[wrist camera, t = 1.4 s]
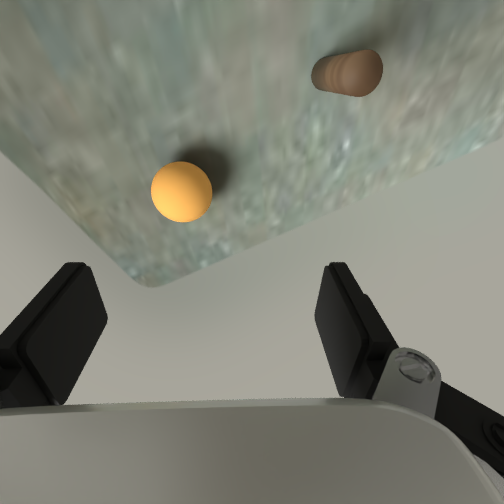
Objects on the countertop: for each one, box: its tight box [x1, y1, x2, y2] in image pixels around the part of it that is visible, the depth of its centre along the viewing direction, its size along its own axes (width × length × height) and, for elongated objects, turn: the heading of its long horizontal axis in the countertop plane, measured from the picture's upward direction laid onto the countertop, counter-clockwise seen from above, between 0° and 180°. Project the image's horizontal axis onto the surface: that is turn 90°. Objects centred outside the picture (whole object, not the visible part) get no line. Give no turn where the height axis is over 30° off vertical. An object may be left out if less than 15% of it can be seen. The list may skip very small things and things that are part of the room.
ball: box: [151, 161, 212, 222], centre depth 28 cm, size 6×6×6 cm
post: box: [311, 50, 383, 97], centre depth 22 cm, size 3×3×9 cm
